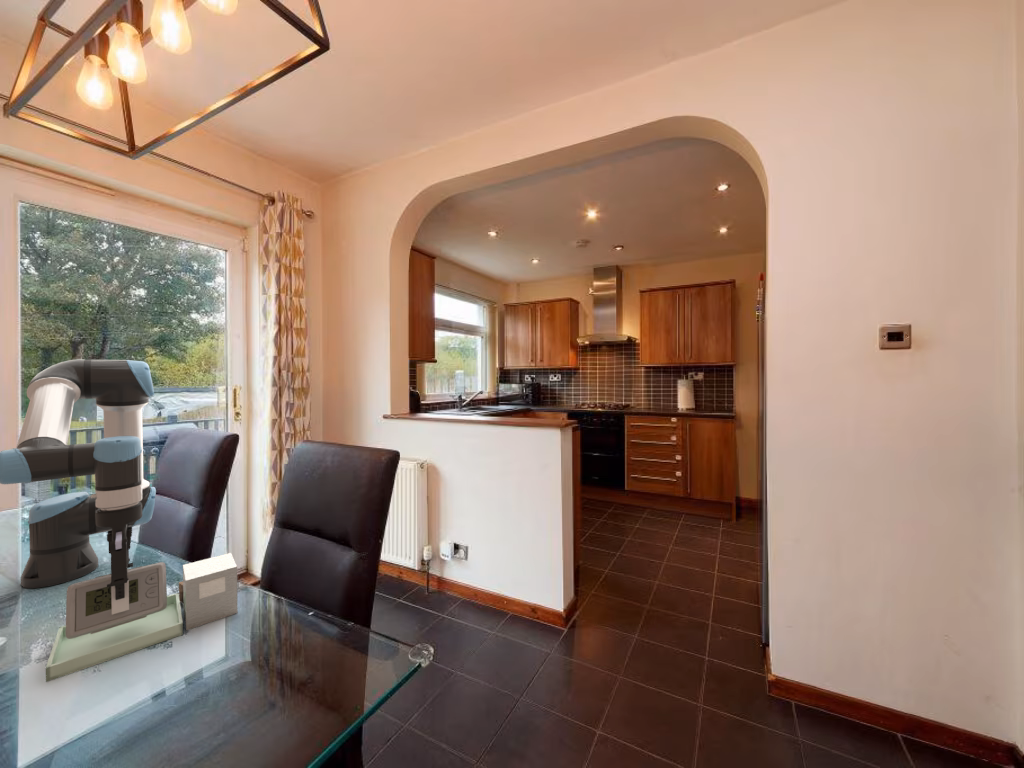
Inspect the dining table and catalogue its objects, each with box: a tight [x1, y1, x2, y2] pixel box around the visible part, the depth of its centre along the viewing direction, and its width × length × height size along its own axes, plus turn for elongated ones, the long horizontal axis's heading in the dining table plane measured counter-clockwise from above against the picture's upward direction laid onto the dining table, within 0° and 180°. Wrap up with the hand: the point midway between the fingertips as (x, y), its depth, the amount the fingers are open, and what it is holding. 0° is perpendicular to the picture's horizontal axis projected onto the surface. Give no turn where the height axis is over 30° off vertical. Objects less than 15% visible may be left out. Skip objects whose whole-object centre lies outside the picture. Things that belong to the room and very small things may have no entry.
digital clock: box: [65, 561, 168, 639], centre depth 89 cm, size 16×9×11 cm, turn 122°
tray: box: [44, 592, 184, 683], centre depth 89 cm, size 17×21×3 cm
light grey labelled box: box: [182, 552, 239, 631], centre depth 99 cm, size 10×10×12 cm
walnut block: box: [178, 580, 183, 604], centre depth 104 cm, size 5×5×5 cm
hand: (121, 604), depth 89 cm, fingers closed on digital clock, 6 cm apart
